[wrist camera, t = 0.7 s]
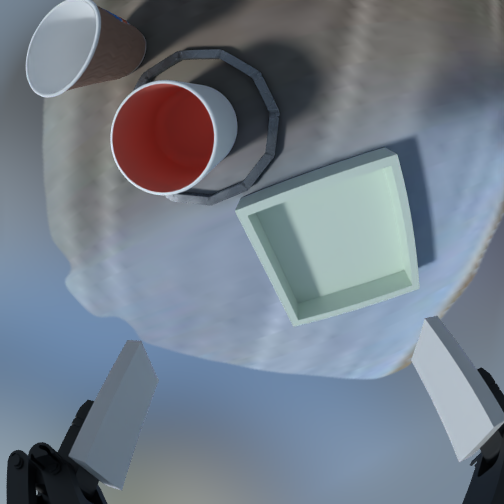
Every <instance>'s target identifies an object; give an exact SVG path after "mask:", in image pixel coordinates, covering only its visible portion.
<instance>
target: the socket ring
mask: <svg viewBox="0 0 504 504" xmlns="http://www.w3.org/2000/svg"><path fill="white" fill-rule="evenodd" d="M190 59H221V60H223V61H225V62H227V63H228V64H230V65H232V66H234V67H235V68H237V69H239V70H240V71H242V72H244V73H245V74H247V75H248V76H250V77H252V78H253V80H254V82H255V84H256V86H257V88H258V90H259V92H260V94H261V96H262V98H263V100H264V102H265V104H266V106H267V109H268V111H269V113H270V117H269V126H268V135H267V144H266V152H265V153H264V155H263V156H262V157H261V159H260V160H259V161H258V163H257V164H256V165H255V167H254V168H253V169H252V170H251V172H250V173H249V174H248V176H247V177H246V178H245V180H244V181H242V182H240V183H237V184H235V185H233V186H230V187H228V188H225V189H223V190H221V191H219V192H216V193H214V194H212V195H209V194H200V193H190V192H181V193H177V194H173V195H164V196H165V197H167V198H168V199H170V200H171V201H174V202H183V203H193V204H202V205H213V204H216V203H218V202H221V201H223V200H225V199H228V198H230V197H233V196H235V195H237V194H240V193H242V192H245V191H247V190H249V188H250V187H251V186H252V185H253V183H254V182H255V181H256V179H257V178H258V177H259V175H260V174H261V173H262V172H263V170H264V169H265V168H266V167H267V165H268V164H269V163H270V161H271V160H272V159H273V158H274V156H275V150H276V141H277V133H278V125H279V116H280V113H278V112H280V111H279V109H278V107H277V105H276V103H275V100H274V98H273V96H272V94H271V92H270V90H269V88H268V86H267V84H266V82H265V80H264V78H263V76H262V74H261V73H260V72H259V71H258V70H256V69H254V68H253V67H251V66H250V65H248V64H246V63H245V62H243V61H241V60H239V59H238V58H236V57H234V56H233V55H231V54H229V53H227V52H225V51H224V50H221V49H213V50H185V51H179V52H178V51H177V52H175V53H174V54H172V55H170V56H169V57H167V58H166V59H164V60H162V61H161V62H159V63H158V64H156V65H155V66H153V67H152V68H150V69H149V70H147V71H146V72H144V73H143V74H142V75H141V77H140V79H139V81H138V82H137V84H136V86H135V88H134V90H136V89H137V88H139V87H141V86H142V85H145V84H147V83H149V82H150V81H151V79H152V78H154V77H155V76H157V75H159V74H160V73H162V72H163V71H165V70H166V69H168V68H170V67H171V66H173V65H175V64H176V63H178V62H180V61H182V60H190ZM134 90H133V91H134Z"/></svg>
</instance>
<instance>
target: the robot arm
mask: <svg viewBox="0 0 504 504" xmlns="http://www.w3.org/2000/svg"><path fill="white" fill-rule="evenodd" d="M411 361H412V362H413V364H414V366H415V368H416V370H417V372H418V374H419V376H420V378H421V379H422V381H423V383H424V385H425V387H426V389H427V391H428V393H429V395H430V397H431V399H432V401H433V403H434V405H435V408H436V410H437V412H438V414H439V416H440V418H441V420H442V423H443V425H444V427H445V429H446V432H447V434H448V436H449V439H450V441H451V443H452V446H453V448H454V451H455V453H456V456H457V458H458V460H459V462H461V461H463V460H465V459H467V458H469V457H471V456H472V455H474V454H475V453H476V451H478V450H479V449H480V450H481V453H480V454H479V455H478V456H477V457H476V458H475V459H474V460H473V461H472V462H471V464H470V465H471V466H472V465H473V464H474V463H475V462H476V461H477V463H476V464H475V470H474V473H473V477H472V480H471V482H470V485H469V488H468V491H467V493H466V496H465V498H464V501H463V503H462V504H504V395H503V393H502V392H501V390H499V387H498V385H497V384H495V381H494V379H493V378H492V376H491V375H490V373H488V372H487V371H486V370H484V369H483V368H479V369H476V368H475V366H474V365H473V363H472V362H471V360H470V359H469V357H468V356H467V355H466V353H465V352H464V351H463V349H462V348H461V346H460V345H459V344H458V342H457V341H456V340H455V338H454V337H453V336H452V334H451V333H450V332H449V330H448V329H447V328H446V327H445V325H444V324H443V323H442V321H441V320H440V319H439V318H438V316H434V317H429V318H425V319H424V323H423V326H422V330H421V333H420V336H419V339H418V342H417V345H416V348H415V351H414V354H413V357H412V360H411ZM157 383H158V378H157V376H156V373H155V371H154V369H153V367H152V365H151V362H150V360H149V358H148V356H147V353H146V351H145V348H144V346H143V344H142V341H133V340H128V341H127V342H126V344H125V345H124V347H123V349H122V351H121V353H120V354H119V356H118V358H117V360H116V362H115V363H114V365H113V367H112V369H111V371H110V373H109V374H108V376H107V378H106V380H105V382H104V384H103V386H102V388H101V390H100V391H99V393H98V395H97V397H96V399H95V401H91V400H87V401H86V402H85V403H84V404H83V405H82V406H81V407H80V409H79V410H78V412H77V414H76V416H75V417H76V418H75V419H74V420H73V422H72V426H70V428H69V430H68V432H67V434H66V436H65V439H64V440H63V442H62V444H61V447H60V449H59V450H58V452H56V451H55V450H54V449H52V447H51V446H49V445H48V444H46V443H43V442H42V443H37V444H35V445H34V446H33V447H32V448H31V449H30V451H29V454H28V455H27V454H25V453H24V452H23V451H21V450H16V451H14V452H12V453H11V455H10V456H9V459H8V467H7V504H107V502H106V500H105V498H104V496H103V493H102V491H101V489H100V487H99V486H98V482H99V481H101V482H102V483H103V484H105V485H106V486H109V487H112V488H115V489H119V490H122V488H123V485H124V481H125V478H126V475H127V472H128V469H129V465H130V462H131V459H132V456H133V453H134V450H135V447H136V443H137V441H138V438H139V434H140V432H141V429H142V426H143V423H144V420H145V417H146V414H147V411H148V408H149V406H150V403H151V400H152V397H153V394H154V392H155V389H156V386H157ZM36 490H37V491H38V495H36Z"/></svg>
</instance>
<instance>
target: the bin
mask: <svg viewBox="0 0 504 504" xmlns="http://www.w3.org/2000/svg"><path fill="white" fill-rule="evenodd" d="M235 212H236V214H237V216H238V218H239V220H240V222H241V224H242V226H243V228H244V230H245V232H246V234H247V236H248V238H249V240H250V242H251V244H252V246H253V248H254V249H255V251H256V253H257V255H258V257H259V259H260V261H261V263H262V265H263V267H264V269H265V271H266V273H267V275H268V277H269V279H270V281H271V283H272V285H273V287H274V289H275V291H276V293H277V295H278V297H279V299H280V301H281V303H282V305H283V307H284V309H285V311H286V313H287V315H288V317H289V319H290V321H291V323H292V325H293V327H295V326H299V325H303V324H307V323H311V322H315V321H318V320H322V319H326V318H329V317H333V316H337V315H340V314H344V313H347V312H350V311H354V310H357V309H360V308H364V307H367V306H370V305H373V304H376V303H379V302H382V301H385V300H388V299H391V298H394V297H397V296H400V295H403V294H406V293H409V292H411V291H414V290H417V289H419V276H418V264H417V255H416V246H415V239H414V232H413V225H412V219H411V213H410V208H409V202H408V197H407V192H406V188H405V183H404V179H403V175H402V170H401V166H400V163H399V159H398V155H397V154H396V153H394V152H392V151H391V150H389V149H387V148H385V147H384V148H380V149H377V150H374V151H371V152H368V153H364V154H361V155H358V156H355V157H352V158H349V159H346V160H343V161H340V162H337V163H334V164H331V165H328V166H325V167H322V168H320V169H317V170H314V171H311V172H308V173H305V174H303V175H300V176H297V177H294V178H292V179H289V180H286V181H284V182H281V183H278V184H276V185H273V186H270V187H268V188H265V189H262V190H260V191H257V192H255V193H252V194H250V195H247V196H245V197H242V198H241V199H240V201H239V203H238V206H237V208H236V210H235Z"/></svg>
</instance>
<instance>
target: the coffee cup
mask: <svg viewBox="0 0 504 504" xmlns="http://www.w3.org/2000/svg"><path fill="white" fill-rule="evenodd" d="M84 1H85V2H84ZM145 52H146V40H145V38H144V36H143V35H142V33H141V32H140V31H139V30H138V29H136V28H135V27H134V26H132V25H130V24H129V22H127V21H125V20H124V19H122V18H120V17H118V16H116V15H114V14H112V13H110V12H109V11H107V10H105V9H102V8H100V7H99V6H97V5H96V4H95V3H94V2H93V1H92V0H81V1H80V0H65V1H63V2H62V3H60V4H59V5H57V6H56V7H54V8H53V9H52V10H51V11H50V12H49V13H48V14H47V15H46V16H45V17H44V19H43V20H42V21H41V23H40V24H39V26H38V27H37V29H36V31H35V33H34V35H33V37H32V39H31V42H30V45H29V48H28V52H27V58H26V74H27V79H28V82H29V84H30V86H31V88H32V89H33V90H34V92H36V93H37V94H39V95H40V96H43V97H54V96H57V95H60V94H62V93H63V92H65V91H67V90H71V89H74V88H78V87H82V86H87V85H91V84H95V83H100V82H105V81H110V80H116V79H120V78H122V77H125V76H127V75H129V74H131V73H132V72H133V71H134V70H136V69H137V68H138V66H139V65H140V64H141V62H142V60H143V58H144V56H145Z"/></svg>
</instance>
